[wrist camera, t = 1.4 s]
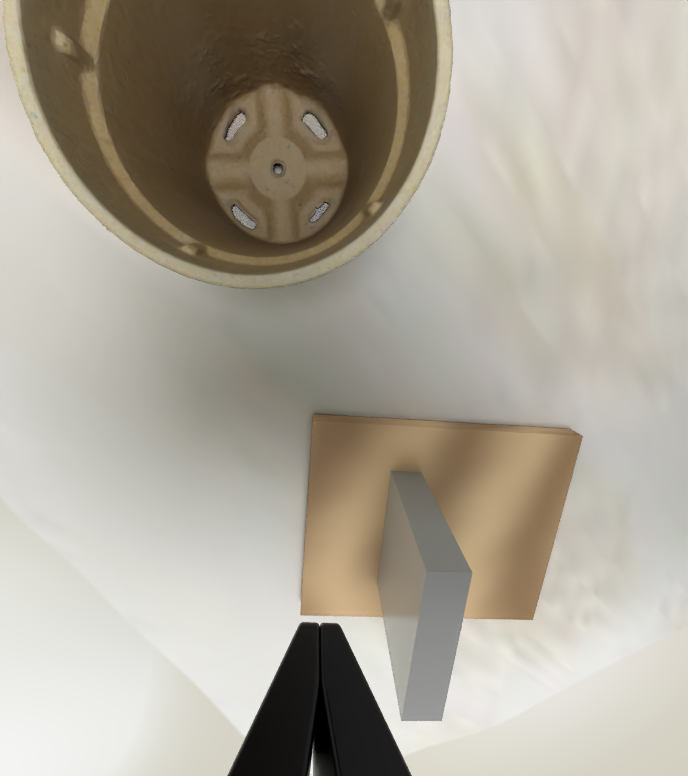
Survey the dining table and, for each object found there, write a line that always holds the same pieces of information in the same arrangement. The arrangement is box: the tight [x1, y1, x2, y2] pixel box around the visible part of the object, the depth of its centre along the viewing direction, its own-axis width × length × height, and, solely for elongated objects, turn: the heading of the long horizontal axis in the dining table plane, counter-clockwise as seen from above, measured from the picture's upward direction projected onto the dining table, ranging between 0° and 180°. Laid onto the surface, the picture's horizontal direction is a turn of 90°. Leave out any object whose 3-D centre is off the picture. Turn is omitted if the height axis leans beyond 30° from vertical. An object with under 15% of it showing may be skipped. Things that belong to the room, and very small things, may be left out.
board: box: [300, 414, 583, 620], centre depth 21 cm, size 14×12×1 cm
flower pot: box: [3, 0, 453, 289], centre depth 12 cm, size 9×9×9 cm
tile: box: [377, 471, 472, 721], centre depth 17 cm, size 2×7×7 cm, turn 175°
